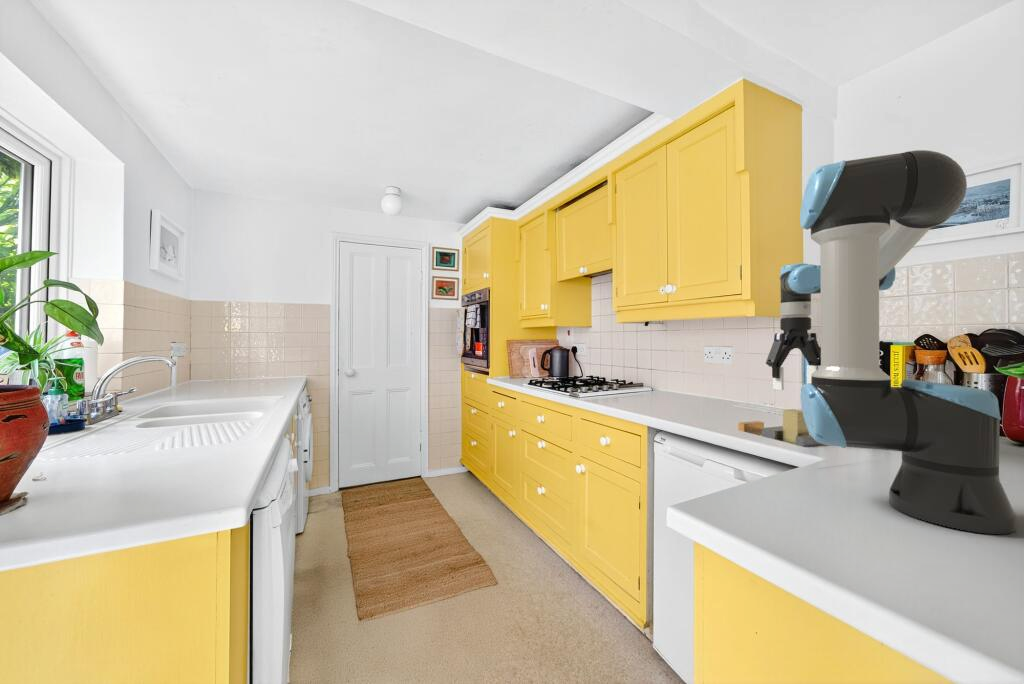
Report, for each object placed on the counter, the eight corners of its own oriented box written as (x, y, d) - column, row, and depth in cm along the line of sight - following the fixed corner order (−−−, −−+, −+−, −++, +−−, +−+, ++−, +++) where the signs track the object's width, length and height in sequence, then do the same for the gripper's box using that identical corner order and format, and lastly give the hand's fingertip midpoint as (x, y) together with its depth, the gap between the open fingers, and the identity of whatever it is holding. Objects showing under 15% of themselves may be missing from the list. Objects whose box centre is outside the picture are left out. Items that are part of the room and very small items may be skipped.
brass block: (797, 443, 117) (797, 412, 117) (782, 439, 122) (782, 409, 122) (808, 442, 119) (808, 411, 119) (794, 438, 123) (794, 409, 123)
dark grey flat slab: (803, 448, 114) (803, 437, 114) (738, 431, 135) (738, 422, 135) (825, 445, 116) (825, 435, 116) (758, 429, 137) (758, 420, 137)
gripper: (775, 316, 113) (775, 391, 113) (838, 316, 120) (838, 387, 120) (752, 317, 120) (752, 388, 120) (813, 317, 127) (813, 384, 128)
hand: (795, 388), depth 120 cm, fingers open, 13 cm apart
